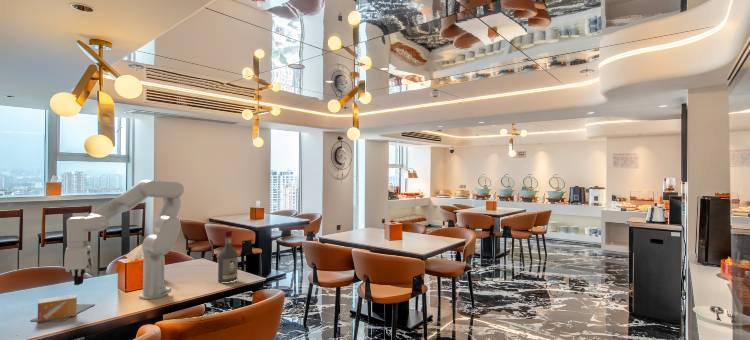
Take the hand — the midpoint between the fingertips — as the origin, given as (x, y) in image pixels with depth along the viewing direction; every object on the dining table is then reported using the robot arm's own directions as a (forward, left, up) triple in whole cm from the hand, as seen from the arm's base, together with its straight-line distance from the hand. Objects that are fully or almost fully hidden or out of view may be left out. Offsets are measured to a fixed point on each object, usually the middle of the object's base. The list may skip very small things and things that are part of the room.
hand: (78, 284), depth 172 cm
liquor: (-49, -50, -13) cm, 72 cm away
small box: (-1, +2, -8) cm, 9 cm away
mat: (+6, +1, -13) cm, 14 cm away
